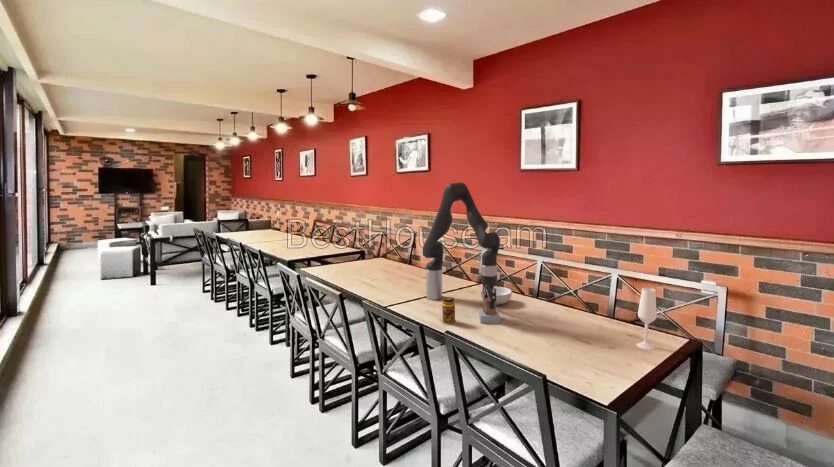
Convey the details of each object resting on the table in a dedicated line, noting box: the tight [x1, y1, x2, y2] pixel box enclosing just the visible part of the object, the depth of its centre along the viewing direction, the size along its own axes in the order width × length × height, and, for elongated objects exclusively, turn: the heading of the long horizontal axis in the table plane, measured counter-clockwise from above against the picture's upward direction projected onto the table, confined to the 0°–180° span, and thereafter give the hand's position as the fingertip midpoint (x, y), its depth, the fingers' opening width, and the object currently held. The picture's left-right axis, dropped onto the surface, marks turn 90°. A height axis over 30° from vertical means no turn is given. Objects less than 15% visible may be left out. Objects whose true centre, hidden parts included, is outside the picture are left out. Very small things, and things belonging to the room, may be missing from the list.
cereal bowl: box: [480, 286, 512, 306], centre depth 232 cm, size 17×17×7 cm
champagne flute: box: [635, 287, 658, 351], centre depth 169 cm, size 7×7×24 cm
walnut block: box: [482, 297, 497, 315], centre depth 205 cm, size 5×5×7 cm
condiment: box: [438, 296, 459, 326], centre depth 204 cm, size 7×8×12 cm
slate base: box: [478, 309, 501, 324], centre depth 205 cm, size 9×9×4 cm
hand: (489, 306), depth 205 cm, fingers open, 8 cm apart
